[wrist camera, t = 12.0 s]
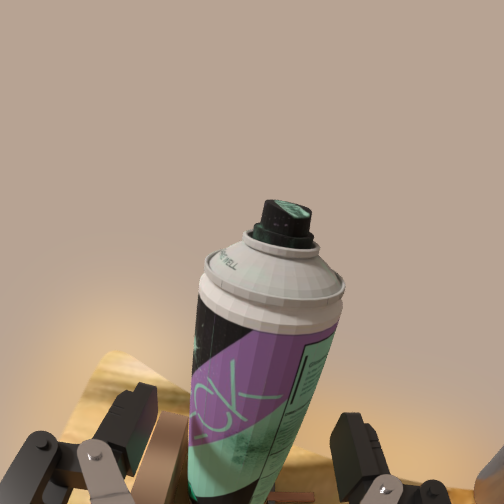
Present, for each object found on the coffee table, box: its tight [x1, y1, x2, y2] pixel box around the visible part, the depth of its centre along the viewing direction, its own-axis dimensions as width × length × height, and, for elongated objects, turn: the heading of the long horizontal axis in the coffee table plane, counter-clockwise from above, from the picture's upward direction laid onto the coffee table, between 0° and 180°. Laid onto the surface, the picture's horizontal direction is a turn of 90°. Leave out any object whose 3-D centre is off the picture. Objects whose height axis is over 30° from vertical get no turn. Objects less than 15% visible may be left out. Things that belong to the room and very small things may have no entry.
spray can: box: [188, 200, 345, 504], centre depth 13 cm, size 6×6×20 cm
